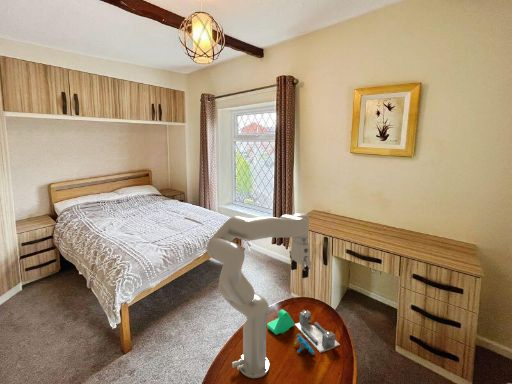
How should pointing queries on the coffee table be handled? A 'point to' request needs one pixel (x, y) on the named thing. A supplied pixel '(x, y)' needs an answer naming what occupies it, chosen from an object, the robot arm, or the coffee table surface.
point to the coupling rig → (316, 333)
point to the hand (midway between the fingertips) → (299, 273)
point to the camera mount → (281, 323)
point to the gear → (303, 344)
